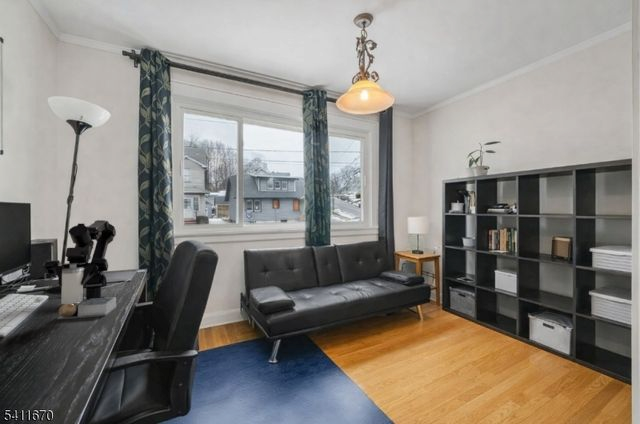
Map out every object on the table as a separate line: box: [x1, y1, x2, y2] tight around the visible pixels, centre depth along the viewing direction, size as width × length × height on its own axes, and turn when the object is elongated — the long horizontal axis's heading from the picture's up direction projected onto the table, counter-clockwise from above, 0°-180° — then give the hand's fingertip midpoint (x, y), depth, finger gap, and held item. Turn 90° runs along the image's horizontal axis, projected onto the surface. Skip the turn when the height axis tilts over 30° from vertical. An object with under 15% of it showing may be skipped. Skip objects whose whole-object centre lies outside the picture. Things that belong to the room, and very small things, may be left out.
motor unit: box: [56, 296, 117, 320], centre depth 109 cm, size 10×16×6 cm, turn 107°
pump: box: [60, 264, 84, 305], centre depth 102 cm, size 6×6×14 cm
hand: (71, 285), depth 101 cm, fingers closed on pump, 6 cm apart
